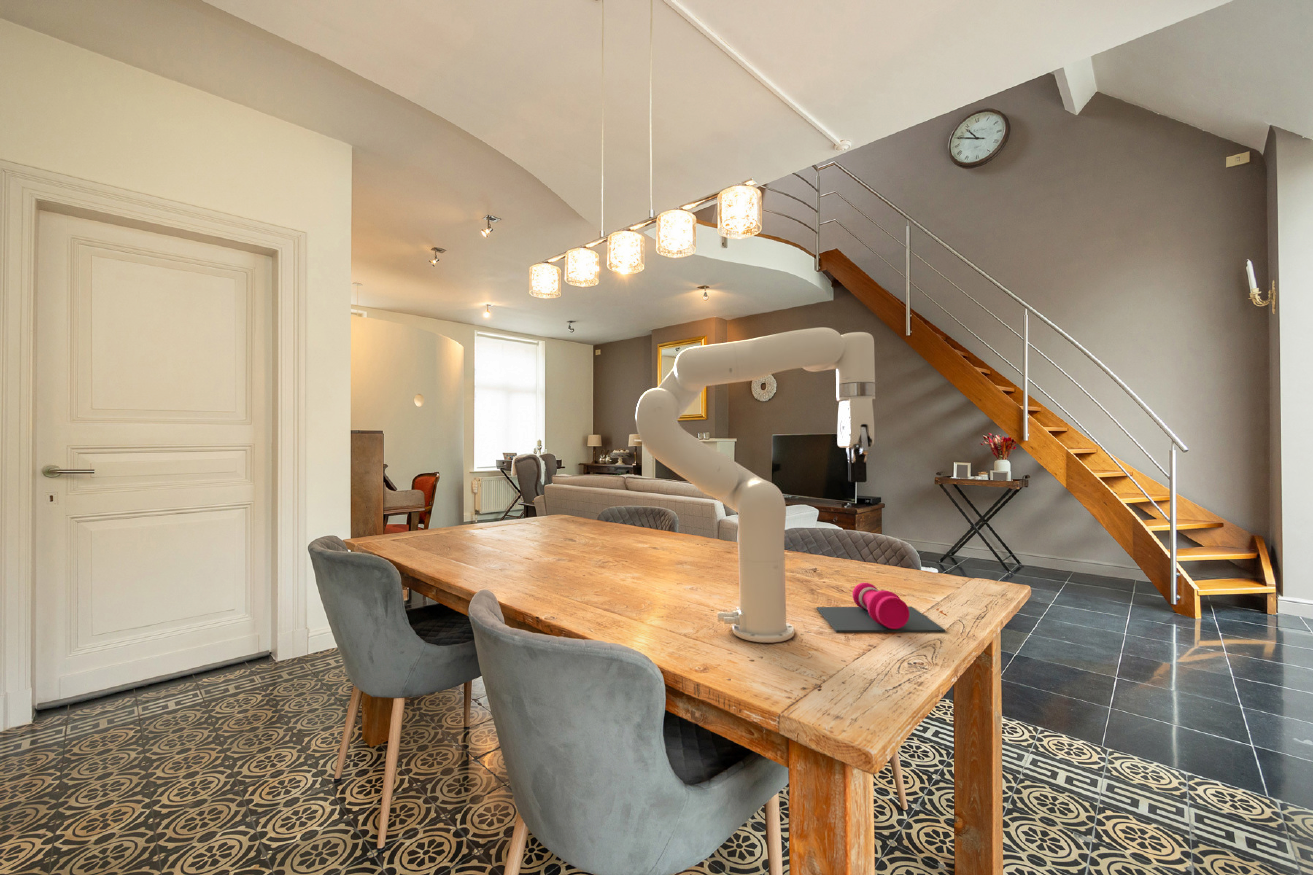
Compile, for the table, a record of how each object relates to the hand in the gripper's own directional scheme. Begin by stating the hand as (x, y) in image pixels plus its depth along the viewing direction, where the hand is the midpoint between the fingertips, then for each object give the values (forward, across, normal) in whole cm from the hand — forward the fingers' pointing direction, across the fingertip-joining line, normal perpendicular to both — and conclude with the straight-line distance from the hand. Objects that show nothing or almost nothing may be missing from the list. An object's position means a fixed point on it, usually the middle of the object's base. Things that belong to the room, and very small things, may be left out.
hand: (857, 481), depth 111 cm
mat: (+31, -8, +6) cm, 33 cm away
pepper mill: (+27, +2, +6) cm, 27 cm away
